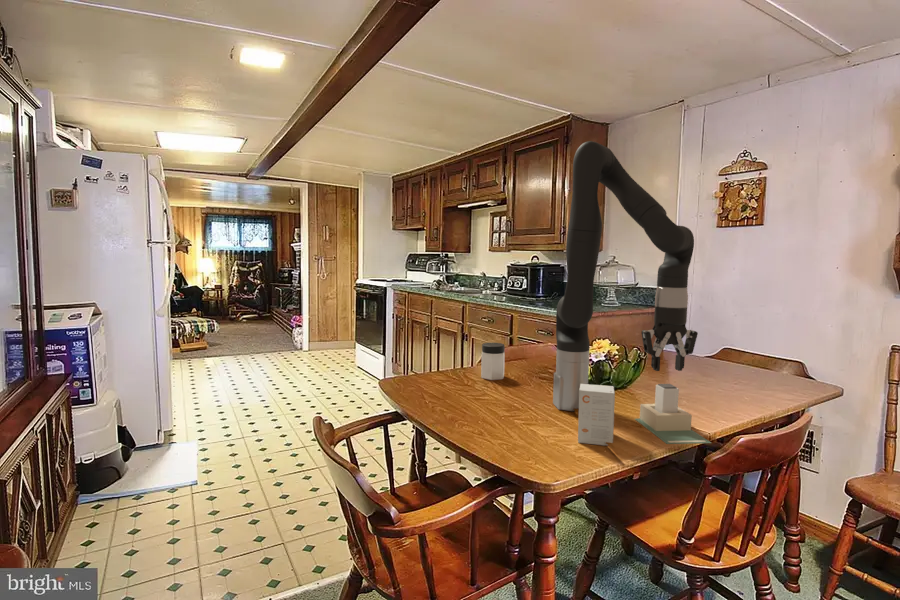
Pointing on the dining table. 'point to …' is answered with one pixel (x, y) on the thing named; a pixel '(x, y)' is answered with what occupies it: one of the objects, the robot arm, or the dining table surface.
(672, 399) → the plug
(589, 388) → the small box
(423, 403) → the dining table surface
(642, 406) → the beige square socket
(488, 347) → the jar
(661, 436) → the board
